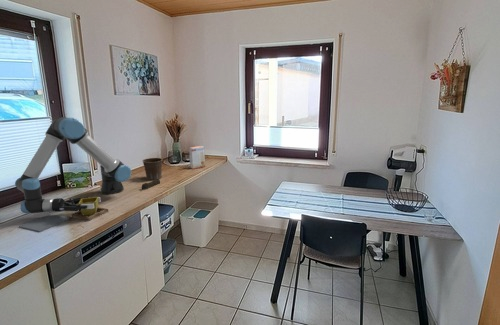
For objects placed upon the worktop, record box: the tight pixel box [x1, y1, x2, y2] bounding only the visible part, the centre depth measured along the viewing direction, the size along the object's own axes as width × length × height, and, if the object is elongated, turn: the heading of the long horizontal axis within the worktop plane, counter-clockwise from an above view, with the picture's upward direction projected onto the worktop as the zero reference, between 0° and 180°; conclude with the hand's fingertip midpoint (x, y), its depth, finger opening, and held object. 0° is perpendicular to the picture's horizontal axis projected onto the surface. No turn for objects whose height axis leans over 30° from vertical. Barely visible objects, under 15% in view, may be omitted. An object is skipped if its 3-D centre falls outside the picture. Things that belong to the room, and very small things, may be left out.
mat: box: [18, 213, 70, 233], centre depth 148 cm, size 16×16×1 cm
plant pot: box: [142, 157, 163, 181], centre depth 231 cm, size 16×16×16 cm
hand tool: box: [141, 179, 161, 191], centre depth 210 cm, size 19×4×5 cm, turn 158°
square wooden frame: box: [70, 206, 109, 222], centre depth 159 cm, size 13×13×2 cm
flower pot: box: [77, 196, 99, 217], centre depth 158 cm, size 9×9×9 cm
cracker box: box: [188, 145, 206, 170], centre depth 268 cm, size 14×6×21 cm, turn 130°
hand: (97, 202), depth 159 cm, fingers closed on flower pot, 10 cm apart
